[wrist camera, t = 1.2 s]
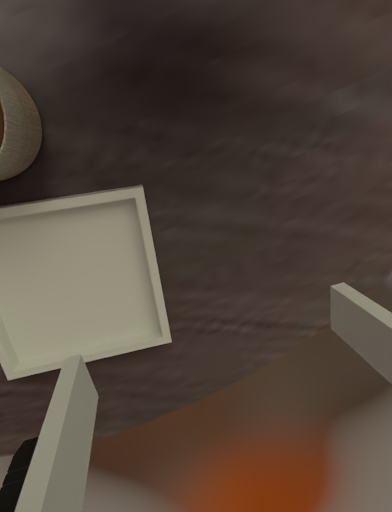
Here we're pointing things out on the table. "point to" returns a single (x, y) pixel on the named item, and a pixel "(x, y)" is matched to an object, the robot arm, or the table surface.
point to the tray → (78, 280)
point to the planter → (17, 127)
